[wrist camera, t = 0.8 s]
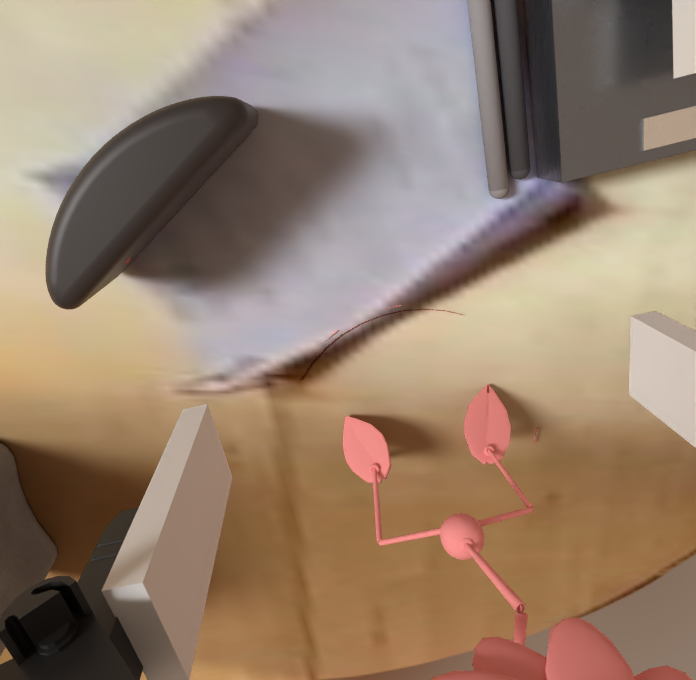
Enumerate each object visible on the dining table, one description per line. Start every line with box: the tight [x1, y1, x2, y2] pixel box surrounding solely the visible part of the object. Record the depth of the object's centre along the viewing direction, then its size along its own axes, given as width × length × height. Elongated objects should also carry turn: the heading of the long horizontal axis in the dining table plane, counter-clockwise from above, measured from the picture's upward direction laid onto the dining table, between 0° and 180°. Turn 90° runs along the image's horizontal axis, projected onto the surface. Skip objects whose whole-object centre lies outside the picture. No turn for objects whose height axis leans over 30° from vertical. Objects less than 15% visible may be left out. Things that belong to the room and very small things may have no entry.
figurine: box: [300, 305, 691, 680], centre depth 28 cm, size 15×26×35 cm, turn 98°
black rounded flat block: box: [46, 96, 258, 309], centre depth 32 cm, size 16×5×10 cm, turn 133°
